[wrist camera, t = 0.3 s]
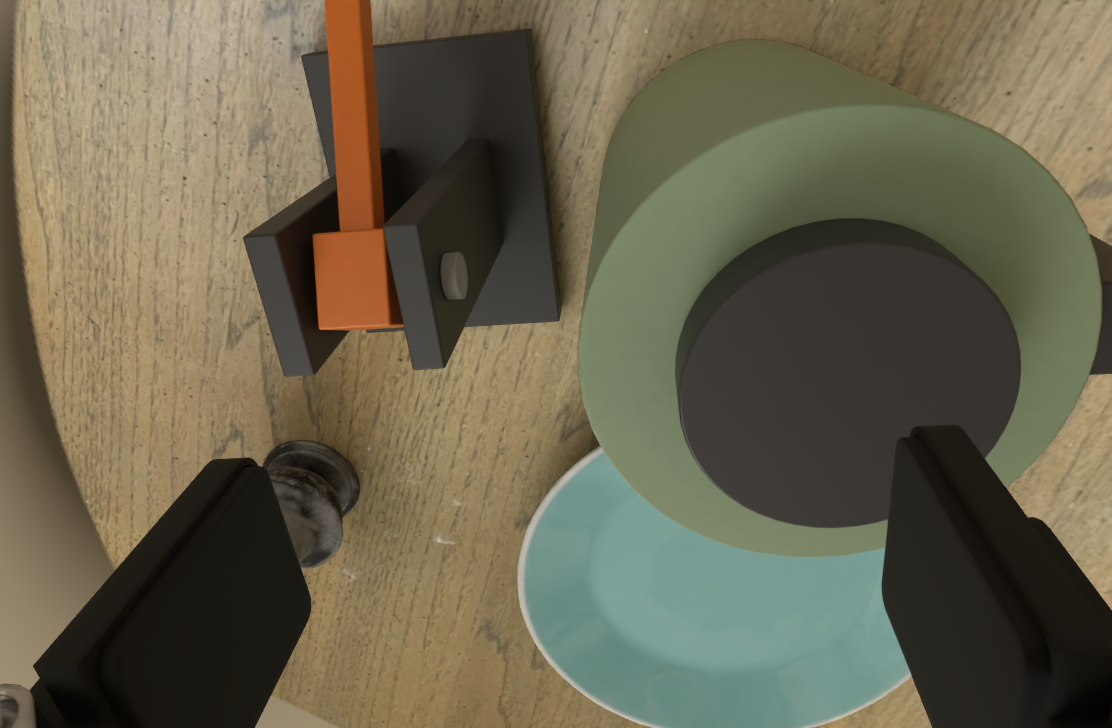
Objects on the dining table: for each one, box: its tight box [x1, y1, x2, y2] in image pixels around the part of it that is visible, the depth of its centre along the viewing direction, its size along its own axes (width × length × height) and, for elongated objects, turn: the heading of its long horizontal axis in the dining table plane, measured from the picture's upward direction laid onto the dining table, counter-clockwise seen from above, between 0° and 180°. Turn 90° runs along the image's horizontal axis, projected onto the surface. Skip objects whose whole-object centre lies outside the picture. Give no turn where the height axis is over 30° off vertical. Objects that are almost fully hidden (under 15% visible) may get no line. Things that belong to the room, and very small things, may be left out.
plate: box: [517, 446, 912, 728], centre depth 39 cm, size 22×22×3 cm
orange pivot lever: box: [313, 0, 404, 330], centre depth 23 cm, size 12×5×2 cm, turn 6°
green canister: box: [578, 39, 1112, 557], centre depth 24 cm, size 12×13×18 cm
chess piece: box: [263, 441, 359, 570], centre depth 35 cm, size 6×6×12 cm
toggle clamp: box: [243, 29, 561, 377], centre depth 27 cm, size 12×9×13 cm
